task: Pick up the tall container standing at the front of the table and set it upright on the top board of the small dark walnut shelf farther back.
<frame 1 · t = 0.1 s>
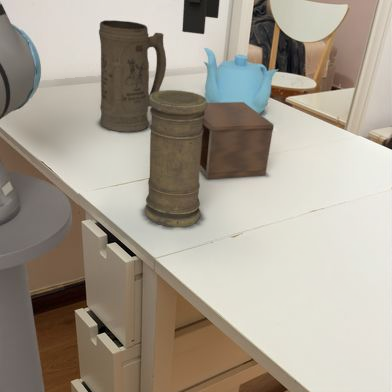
hand: (201, 24, 72), 27 cm above the table, tool pointing down, fingers open, 13 cm apart
beer stein: (132, 123, 121), on the table
shelf: (223, 163, 106), on the table
teapot: (231, 110, 135), on the table
container: (172, 215, 87), on the table
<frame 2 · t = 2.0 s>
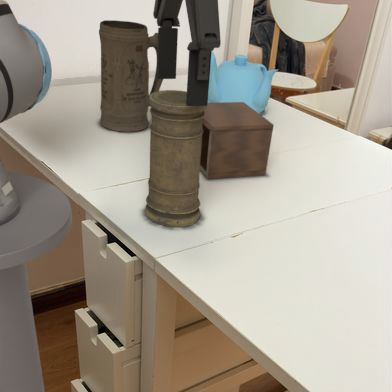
hand: (180, 91, 74), 19 cm above the table, tool pointing down, fingers open, 13 cm apart
nothing on the table moved.
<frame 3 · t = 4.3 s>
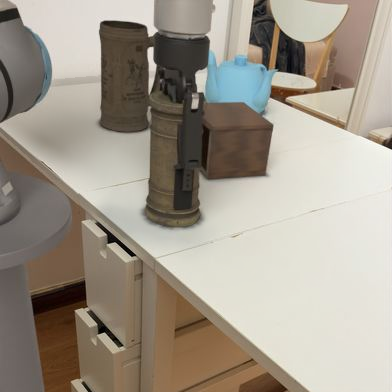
hand: (173, 195, 84), 3 cm above the table, tool pointing down, fingers closed on container, 8 cm apart
container: (172, 215, 87), on the table, touching gripper
everything else where it was.
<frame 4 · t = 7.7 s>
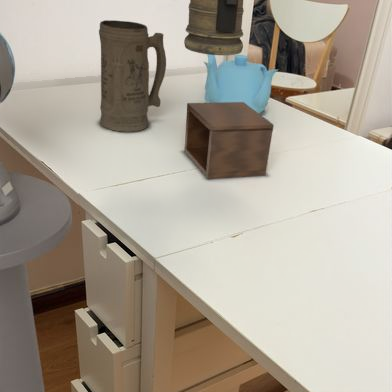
hand: (215, 24, 79), 26 cm above the table, tool pointing down, fingers closed on container, 8 cm apart
container: (213, 50, 81), point 22 cm above the table, touching gripper
everything else where it was.
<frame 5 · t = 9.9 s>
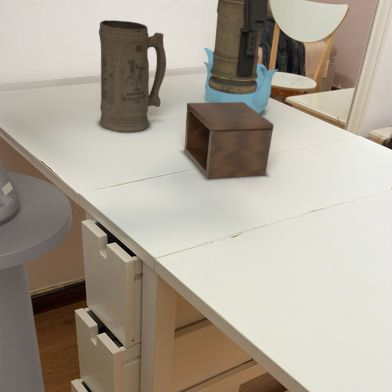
hand: (234, 68, 95), 17 cm above the table, tool pointing down, fingers closed on container, 8 cm apart
container: (232, 89, 97), point 14 cm above the table, touching gripper
everything else where it was.
when the fingers open (13 cm above the table, at t = 11.6 s): container stays where it is, resting on shelf.
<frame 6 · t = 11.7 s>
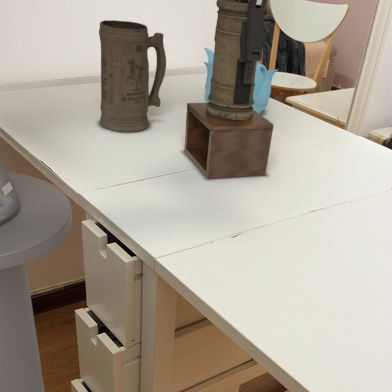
hand: (231, 95, 98), 13 cm above the table, tool pointing down, fingers open, 8 cm apart
container: (229, 114, 100), point 9 cm above the table, touching shelf
everything else where it was.
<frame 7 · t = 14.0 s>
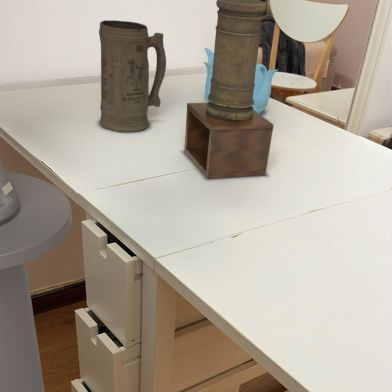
nothing on the table moved.
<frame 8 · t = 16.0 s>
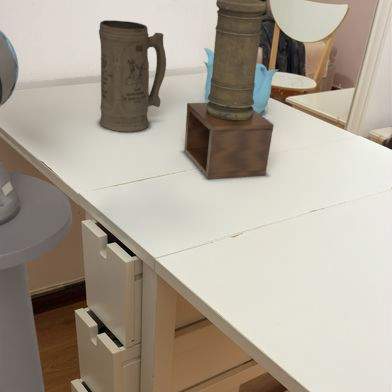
nothing on the table moved.
at the end: container inside the target area on the shelf (0.1 cm from its centre), point 9.3 cm above the shelf's base; container tilted 0°; the gripper is holding nothing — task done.
